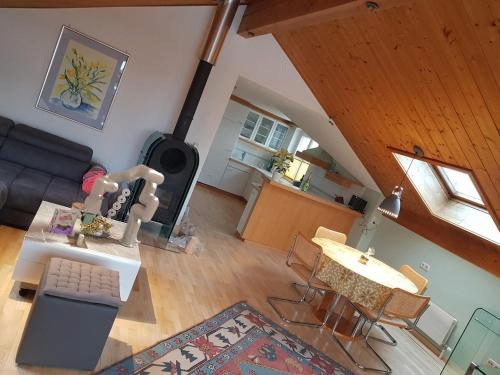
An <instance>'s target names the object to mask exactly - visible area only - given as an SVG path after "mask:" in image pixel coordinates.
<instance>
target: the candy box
mask: <svg viewBox="0 0 500 375" xmlns="http://www.w3.org/2000/svg"><path fill="white" fill-rule="evenodd" d="M52 214H53V215H52V218H51V219H50V222H49V226H48V230H47V231H48V232H49V233H50V234H58V235H59V234H60V235H66V236H67V235H71V236H72V233H73V229H74V227H75V225H76V224H75V223H76V222H77V219H78V218H77V216H78V213H77V212H76V211H71V209H63V208H58V207H55V209H54V212H53V213H52Z"/></svg>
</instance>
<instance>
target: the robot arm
mask: <svg viewBox="0 0 500 375" xmlns="http://www.w3.org/2000/svg"><path fill="white" fill-rule="evenodd" d="M138 179H143V180H145V185H144V187H143V189H142V191H141V194H139V197H138V201H139V203H135V204H133V205H132V206H131V207H130V212H129V217H128V220H127V223H126V226H125V227H124V231H123V233H122V236H121V238H119V239H118V240H117V242H118V243H119V245H122V246H124V247H128V248H134V247H136V244H139V245H140V244H141V241H140V240H138V239H136V238H137V235H138V233H139V230H140V227H141V225H142V222H143V223H148V222H150V221H151V220H152V218H153V216H154V214H155V213H156V211H157V210H158V207H159V204H160V200H159V197H157V196H156V195H155V193H156V190H157V188H158V186H159V185H162V184H163V182H164V180H165V176H164V175H163V174H162V173H161V172H159V171H157V170H155V169H154V168H150V167H149V166H146V165H145V164H137V165H136V166H134V167H131V168H129V169H127V170H125V171H124V170H123V171H115V172H110V173H108V174H106V175H103V176H101V177H96V178H95V180H94V181H93V182H94V183H93V186H92V188H91V191H90V193H89V196H87V197H86V198H85V200H84V203H82V204H83V206H82V207H81V208H79V209H78V210H79V211H80V213H81V214H82V216H81V218H80V221H81V222H83V220H84V217H85V214H86V213H91V214H94V218H93V221H92V223H91V225H92V224H93V223H94V221H95V219H96V218H97V217H100V216H101V215H102V211H101V207H102V204H103V203H102V202H103V200H104V199H105V196H104V193H105V192H107V193H111V194H113V193H116V192H118V190H119V184H118V183H117V182H121V183H127V184H128V183H132V182H135V181H136V180H138ZM140 203H141V204H140ZM82 209H83V212H82Z"/></svg>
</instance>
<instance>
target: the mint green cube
mask: <svg viewBox="0 0 500 375" xmlns="http://www.w3.org/2000/svg"><path fill="white" fill-rule="evenodd" d="M93 218H94V214H91V213H86V214H85V217H84V220H83V222H82V224H85V225H90V226H91V225H92V224H93V222H94V221H93ZM92 221H93V222H92ZM91 223H92V224H91Z"/></svg>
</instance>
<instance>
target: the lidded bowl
mask: <svg viewBox="0 0 500 375" xmlns="http://www.w3.org/2000/svg"><path fill="white" fill-rule="evenodd" d="M83 204H84V203H83V202H82V203H81V202H72V205H71V208H70V210H71V211H76V212H77V213H78V216H77V219H81V216H82V214H81V213H80V211H79V210H78V209H79V208H81V207H82V206H83ZM82 212H83V209H82Z"/></svg>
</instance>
